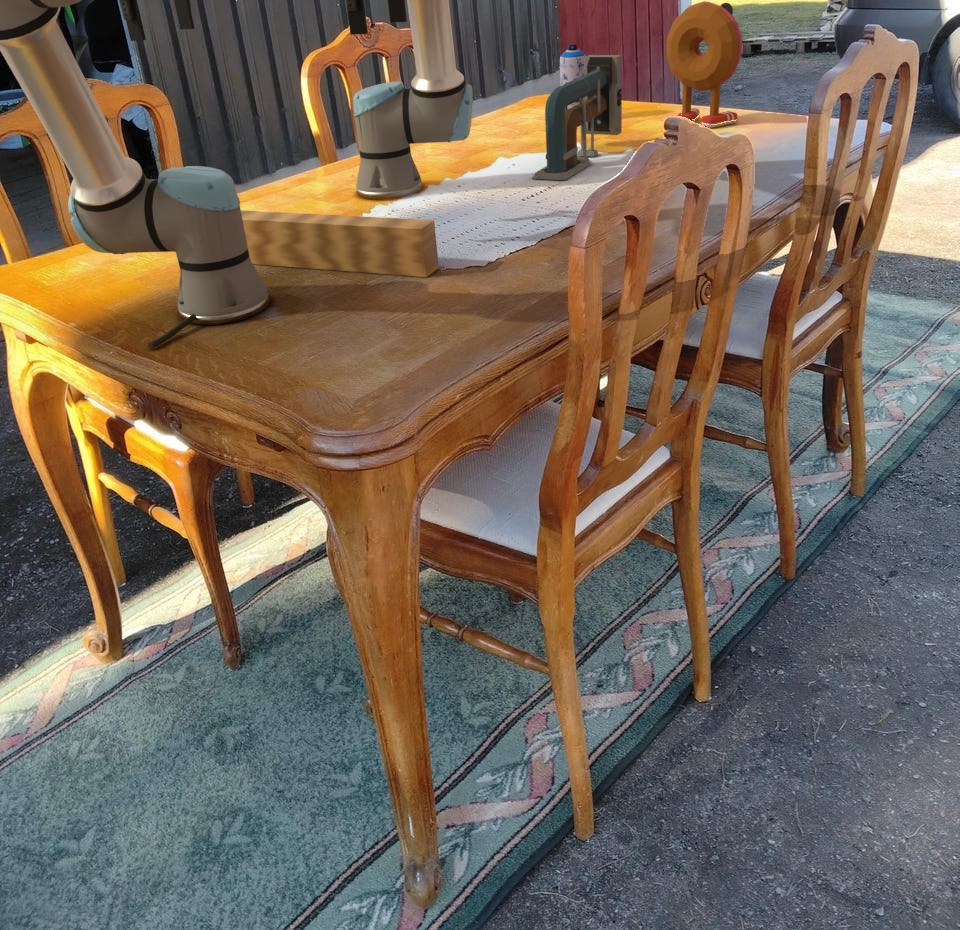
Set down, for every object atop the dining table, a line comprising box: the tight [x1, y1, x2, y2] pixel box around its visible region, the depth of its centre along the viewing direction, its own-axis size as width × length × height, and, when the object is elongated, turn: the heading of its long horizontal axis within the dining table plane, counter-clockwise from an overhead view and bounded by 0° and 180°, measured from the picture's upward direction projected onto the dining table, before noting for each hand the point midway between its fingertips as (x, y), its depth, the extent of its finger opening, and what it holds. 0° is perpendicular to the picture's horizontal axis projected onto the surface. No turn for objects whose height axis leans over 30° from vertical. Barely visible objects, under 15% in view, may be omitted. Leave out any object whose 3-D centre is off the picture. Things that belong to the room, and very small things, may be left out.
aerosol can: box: [559, 43, 587, 109], centre depth 273 cm, size 8×8×20 cm
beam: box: [241, 209, 440, 278], centre depth 182 cm, size 54×5×9 cm, turn 67°
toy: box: [665, 0, 743, 129], centre depth 253 cm, size 21×10×30 cm, turn 47°
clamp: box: [532, 54, 623, 181], centre depth 230 cm, size 35×9×21 cm, turn 151°
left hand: (163, 34), depth 172 cm, fingers open, 13 cm apart
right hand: (379, 28), depth 156 cm, fingers open, 13 cm apart
